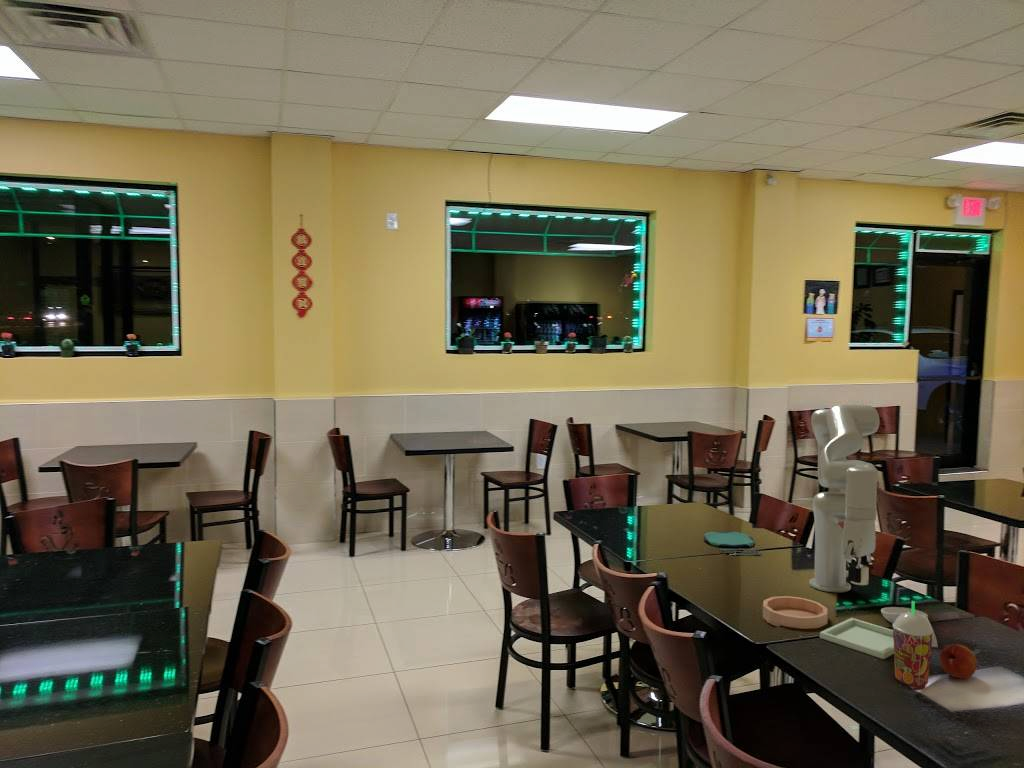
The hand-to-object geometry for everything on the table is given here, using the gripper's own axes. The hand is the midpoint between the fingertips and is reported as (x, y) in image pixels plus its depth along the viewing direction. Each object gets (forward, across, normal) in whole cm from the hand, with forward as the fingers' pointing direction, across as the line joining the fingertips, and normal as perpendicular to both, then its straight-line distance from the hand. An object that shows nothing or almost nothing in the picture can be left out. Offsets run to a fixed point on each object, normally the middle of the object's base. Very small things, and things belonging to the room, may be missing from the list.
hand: (859, 578), depth 193 cm
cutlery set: (+18, -54, -77) cm, 96 cm away
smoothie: (+17, +16, +20) cm, 31 cm away
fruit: (+17, +2, +25) cm, 31 cm away
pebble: (+1, 0, 0) cm, 1 cm away
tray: (+17, 0, +2) cm, 17 cm away
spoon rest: (+18, -17, +7) cm, 25 cm away
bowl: (+17, 0, -19) cm, 25 cm away
